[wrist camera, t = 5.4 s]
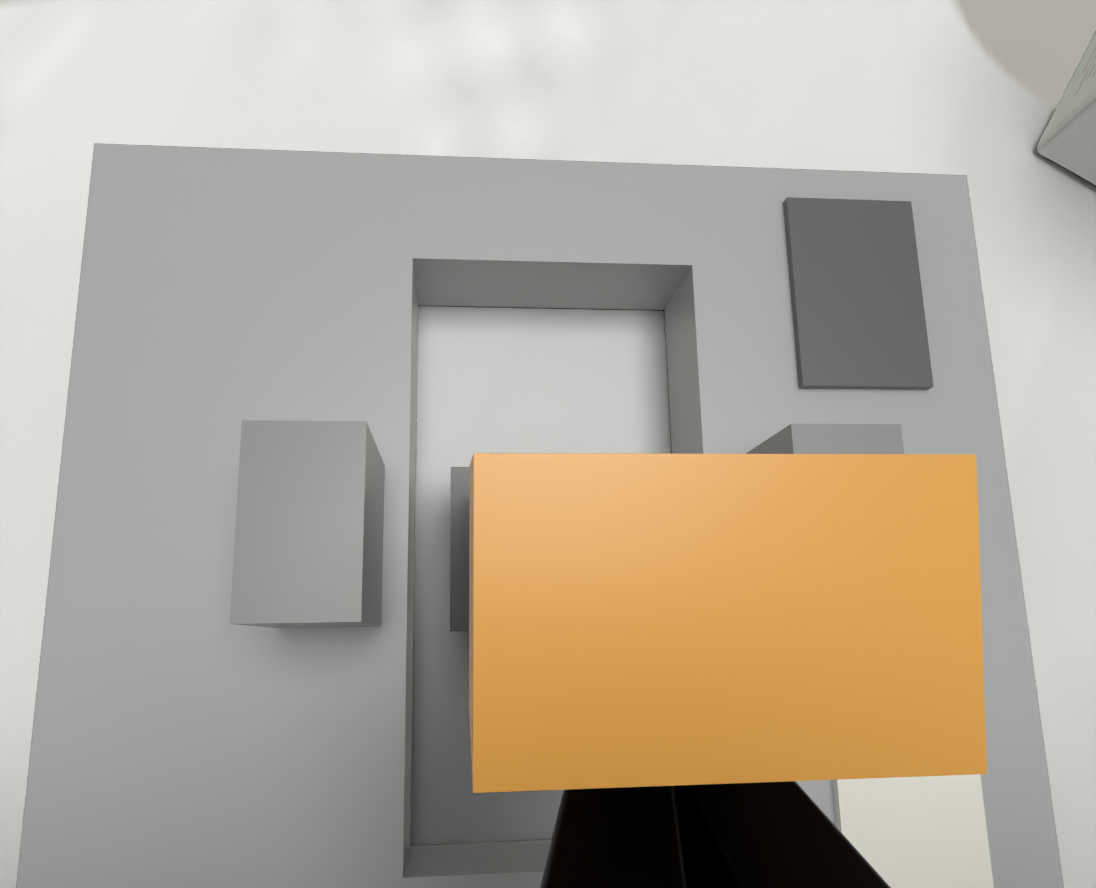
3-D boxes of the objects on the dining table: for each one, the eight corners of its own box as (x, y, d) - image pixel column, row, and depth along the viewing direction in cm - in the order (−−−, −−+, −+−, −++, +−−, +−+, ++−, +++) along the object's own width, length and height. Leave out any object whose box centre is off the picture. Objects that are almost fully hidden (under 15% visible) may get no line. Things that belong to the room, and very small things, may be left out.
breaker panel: (993, 939, 16) (1242, 1076, 11) (67, 991, 14) (-146, 1181, 9) (909, 227, 19) (1071, 77, 14) (138, 204, 17) (8, 24, 12)
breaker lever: (660, 610, 15) (1019, 804, 6) (451, 613, 15) (438, 827, 5) (658, 471, 15) (1003, 422, 6) (452, 472, 15) (439, 419, 5)
